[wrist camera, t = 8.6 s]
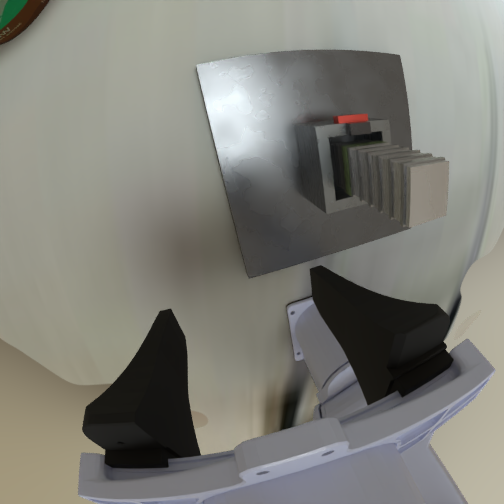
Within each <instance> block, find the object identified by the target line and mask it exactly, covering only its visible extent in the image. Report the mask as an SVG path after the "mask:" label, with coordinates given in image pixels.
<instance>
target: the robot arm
mask: <svg viewBox="0 0 504 504" xmlns="http://www.w3.org/2000/svg"><path fill="white" fill-rule="evenodd" d="M310 276H311V286H312V297H311V298H308V299H305V300H302V301H298V302H295V303H292V304H290V305H288V306H287V314H288V320H289V326H290V332H291V338H292V345H293V351H294V357H295V360H296V361H300V360H303V359H304V361H305V363H306V365H307V367H308V369H309V372H310V374H311V376H312V378H313V380H314V383H315V385H316V387H317V389H318V391H319V392H318V393H317V394H316V395H317V398H318V400H319V402H320V403H319V404H318V405H316V406H315V408H314V415H313V421H310V422H307V423H305V424H302V425H299V426H295V427H292V428H289V429H286V430H282V431H279V432H276V433H272V434H268V435H265V436H261V437H257V438H253V439H250V440H247V441H244V442H242V443H241V444H239V445H238V446H236V447H235V448H234V450H231V451H226V452H220V453H214V454H208V455H201V454H200V450H199V447H198V443H197V439H196V435H195V430H194V426H193V421H192V415H191V410H190V403H189V397H188V361H187V346H186V339H185V335H184V333H183V331H182V330H181V328H180V326H179V324H178V322H177V320H176V318H175V316H174V314H173V312H172V310H171V309H167V310H163V311H160V312H159V314H158V316H157V317H156V319H155V321H154V323H153V325H152V327H151V329H150V331H149V333H148V335H147V336H146V338H145V340H144V342H143V343H142V345H141V347H140V348H139V350H138V352H137V353H136V355H135V357H134V358H133V359H132V361H131V362H130V364H129V365H128V366H127V368H126V369H125V370H124V371H123V373H122V374H121V375H120V376H119V377H118V378H117V380H116V381H115V382H114V383H113V384H112V385H111V386H110V387H109V388H108V389H107V390H106V391H105V392H104V393H103V394H102V395H100V396H99V397H98V398H97V399H95V400H94V401H93V402H92V403H90V404H89V405H88V406H87V407H86V409H85V415H84V421H83V427H82V430H83V432H84V434H85V435H86V436H87V437H88V438H89V439H90V440H92V441H93V442H94V443H96V444H98V445H99V446H101V447H102V448H103V449H105V455H102V454H97V453H81V458H80V469H79V486H78V487H79V488H78V495H79V496H80V497H82V498H85V499H87V500H90V501H92V502H95V503H98V504H468V503H467V501H466V500H465V498H464V496H463V495H462V493H461V491H460V490H459V488H458V486H457V485H456V484H455V482H454V480H453V479H452V477H451V475H450V474H449V472H448V471H447V469H446V468H445V466H444V465H443V463H442V462H441V460H440V458H439V457H438V455H437V454H436V452H435V451H434V449H433V448H432V446H431V445H430V440H431V438H432V436H433V434H434V431H435V430H437V429H438V428H439V427H441V426H442V425H443V424H444V423H446V422H447V421H448V420H449V419H451V418H452V417H453V416H455V415H456V414H457V413H458V412H459V411H461V410H462V409H463V408H464V407H465V406H467V405H468V404H469V403H470V402H471V401H472V400H474V399H475V398H476V397H477V395H478V394H479V393H480V392H481V390H482V389H483V388H484V386H485V385H486V384H487V382H488V381H489V380H490V378H491V377H492V375H493V374H494V373H495V368H494V367H493V366H492V365H491V364H490V363H489V361H488V360H487V359H486V358H485V357H484V356H483V355H482V353H480V351H479V350H478V349H477V348H476V347H475V346H474V345H473V343H472V342H470V340H469V339H466V340H464V341H463V342H462V343H460V344H459V345H457V346H456V347H455V348H453V349H452V350H451V351H450V353H448V352H447V351H446V350H445V349H446V348H447V346H446V344H445V343H444V342H443V340H444V337H445V335H446V332H447V330H448V327H449V322H450V318H449V316H448V315H447V314H446V313H445V312H444V311H443V310H442V309H441V308H440V307H439V306H438V305H437V304H426V303H416V302H409V301H404V300H399V299H395V298H391V297H388V296H384V295H381V294H378V293H376V292H373V291H370V290H368V289H365V288H363V287H361V286H359V285H356V284H354V283H352V282H350V281H348V280H347V279H345V278H343V277H341V276H339V275H337V274H336V273H334V272H332V271H330V270H328V269H327V268H325V267H323V266H321V265H320V266H317V267H314V268H311V269H310ZM292 311H293V312H292ZM291 312H292V313H291Z"/></svg>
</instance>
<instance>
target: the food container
mask: <svg viewBox="0 0 504 504" xmlns="http://www.w3.org/2000/svg"><path fill="white" fill-rule="evenodd" d="M48 2H49V0H0V44H3V43H5V42H8V41H10V40H12V39H13V38H15V37H16V36H17V35H19V34H20V33H21V32H22V31H24V30H25V29H26V28H27V27H28V26H29V25H30V24H31V23H32V22H33V21H34V20H35V19H36V18H37V16H38V15H39V14H40V13H41V11H42V10H43V9H44V7H45V6H46V5H47V3H48Z"/></svg>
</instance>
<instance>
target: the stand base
mask: <svg viewBox="0 0 504 504" xmlns="http://www.w3.org/2000/svg"><path fill="white" fill-rule="evenodd" d="M196 70H197V74H198V78H199V82H200V86H201V91H202V95H203V99H204V103H205V107H206V112H207V116H208V120H209V124H210V128H211V132H212V136H213V140H214V144H215V149H216V153H217V157H218V161H219V165H220V169H221V173H222V177H223V181H224V185H225V189H226V193H227V197H228V201H229V205H230V209H231V213H232V217H233V221H234V225H235V229H236V232H237V236H238V240H239V244H240V248H241V252H242V256H243V260H244V264H245V267H246V271H247V275H248V277H249V278H253V277H256V276H260V275H263V274H267V273H270V272H273V271H277V270H280V269H283V268H287V267H290V266H293V265H297V264H300V263H303V262H307V261H310V260H313V259H317V258H320V257H323V256H326V255H330V254H333V253H336V252H339V251H342V250H345V249H349V248H352V247H355V246H358V245H361V244H364V243H367V242H371V241H374V240H377V239H380V238H383V237H386V236H389V235H392V234H395V233H398V232H401V231H404V230H407V229H410V228H411V227H410V228H409V227H407V226H405V227H402V226H400V222H399V221H398V220H396V219H392V220H391V219H389V215H388V214H386V213H385V212H383V213H380V212H378V208H376V207H374V206H373V207H370V206H369V204H368V202H366V201H363V202H361V201H360V198H359V197H357V196H356V197H353V196H350V195H348V194H346V193H345V192H344V189H342V188H340V187H339V186H337V185H335V184H334V174H333V165H332V157H331V149H330V144H334V143H340V142H347V141H355V140H362V139H366V140H371V141H376V140H379V141H385V142H388V143H389V145H395V144H397V145H399V147H409V150H412V140H411V127H410V116H409V107H408V99H407V92H406V86H405V79H404V74H403V68H402V63H401V58H400V55H396V54H388V53H379V52H368V51H353V50H298V51H283V52H271V53H262V54H254V55H247V56H240V57H234V58H228V59H223V60H218V61H213V62H208V63H203V64H199V65H196Z"/></svg>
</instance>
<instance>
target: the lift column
mask: <svg viewBox="0 0 504 504" xmlns="http://www.w3.org/2000/svg"><path fill="white" fill-rule="evenodd" d="M330 149H331V157H332V165H333V174H334V184H335V185H337V186H339V187H340V188H342V189H344V192H345V193H346V194H348V195H350V196H353V197H356V196H357V197H359V198H360V201H361V202H363V201H366V202H368V204H369V206H370V207H373V206H374V207H376V208H378V212H380V213H383V212H385V213H386V214H388V215H389V219H391V220H392V219H396V220H398V221H399V222H400V226H402V227H405V226H407V227H409V228H410V227H413V226H416V225H419V224H422V223H425V222H428V221H431V220H434V219H437V218H440V217H442V216H445V215H446V211H447V199H448V182H449V161H446V160H445V158H444V157H437V158H436V157H433V156H432V154H431V153H425V154H423V153H420V150H409V147H399V145H397V144H395V145H389V143H388V142H385V141H379V140H376V141H371V140H366V139H362V140H355V141H347V142H340V143H334V144H330Z"/></svg>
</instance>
